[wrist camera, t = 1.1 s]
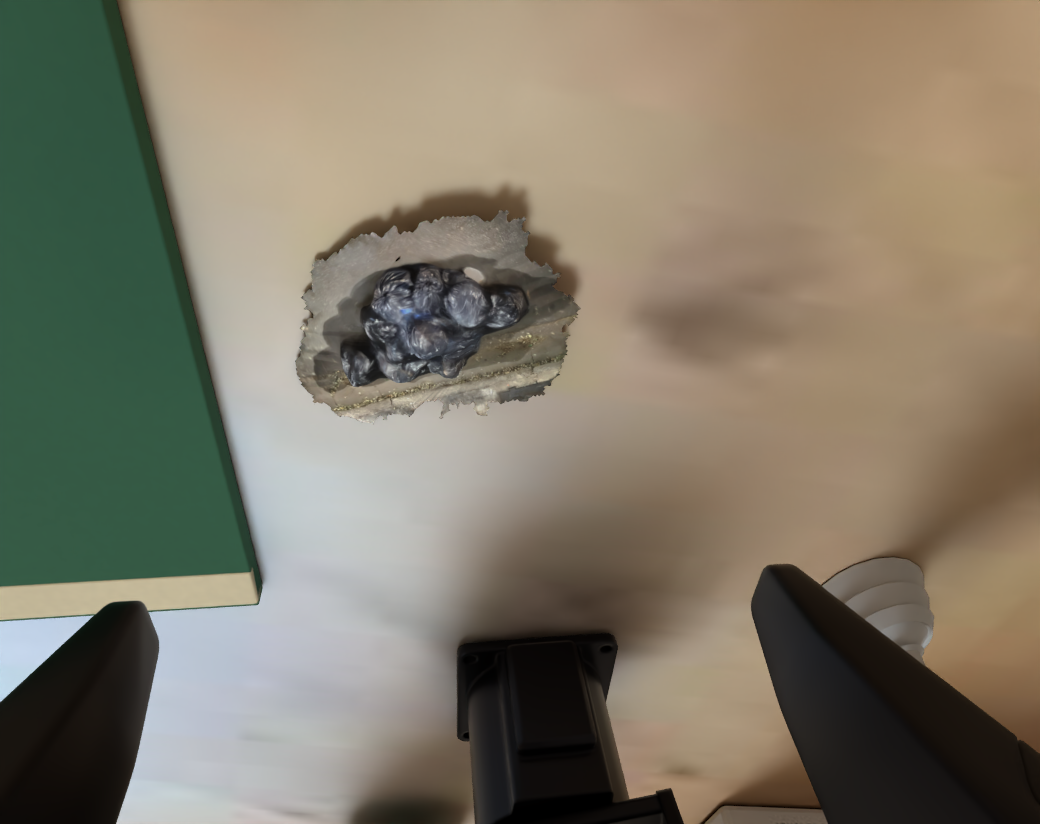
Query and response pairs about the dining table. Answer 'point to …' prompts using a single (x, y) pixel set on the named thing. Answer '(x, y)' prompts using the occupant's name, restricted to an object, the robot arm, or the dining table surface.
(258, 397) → the dining table surface
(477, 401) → the blueberries
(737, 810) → the cereal box
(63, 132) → the green flat rectangular block
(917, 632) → the chalice
